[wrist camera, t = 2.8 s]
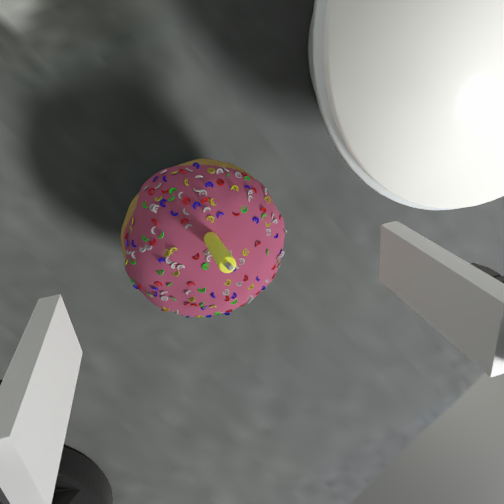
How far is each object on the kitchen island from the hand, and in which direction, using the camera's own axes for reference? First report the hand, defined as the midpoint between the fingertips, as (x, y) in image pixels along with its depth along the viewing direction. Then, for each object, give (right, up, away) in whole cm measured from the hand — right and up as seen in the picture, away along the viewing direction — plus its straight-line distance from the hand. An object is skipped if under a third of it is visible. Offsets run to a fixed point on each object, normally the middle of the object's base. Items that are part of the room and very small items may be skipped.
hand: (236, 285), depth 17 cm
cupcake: (-3, +4, +9) cm, 10 cm away
